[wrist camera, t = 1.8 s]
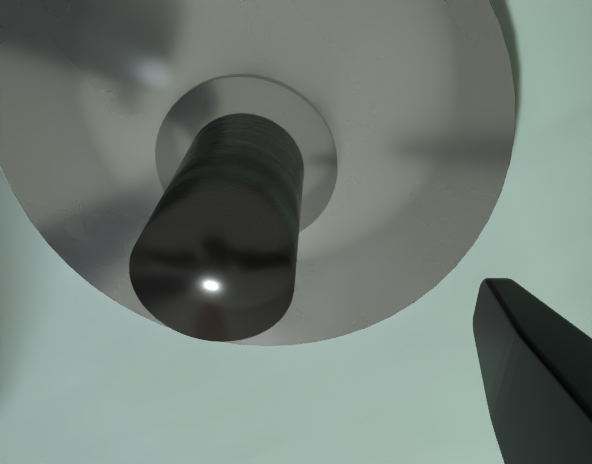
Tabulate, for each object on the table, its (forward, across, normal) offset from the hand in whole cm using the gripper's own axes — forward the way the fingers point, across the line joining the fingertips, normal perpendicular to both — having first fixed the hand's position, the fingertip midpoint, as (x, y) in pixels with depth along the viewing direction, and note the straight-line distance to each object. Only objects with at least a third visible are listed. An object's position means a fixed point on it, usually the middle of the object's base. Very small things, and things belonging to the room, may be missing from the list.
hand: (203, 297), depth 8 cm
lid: (+6, 0, 0) cm, 6 cm away
